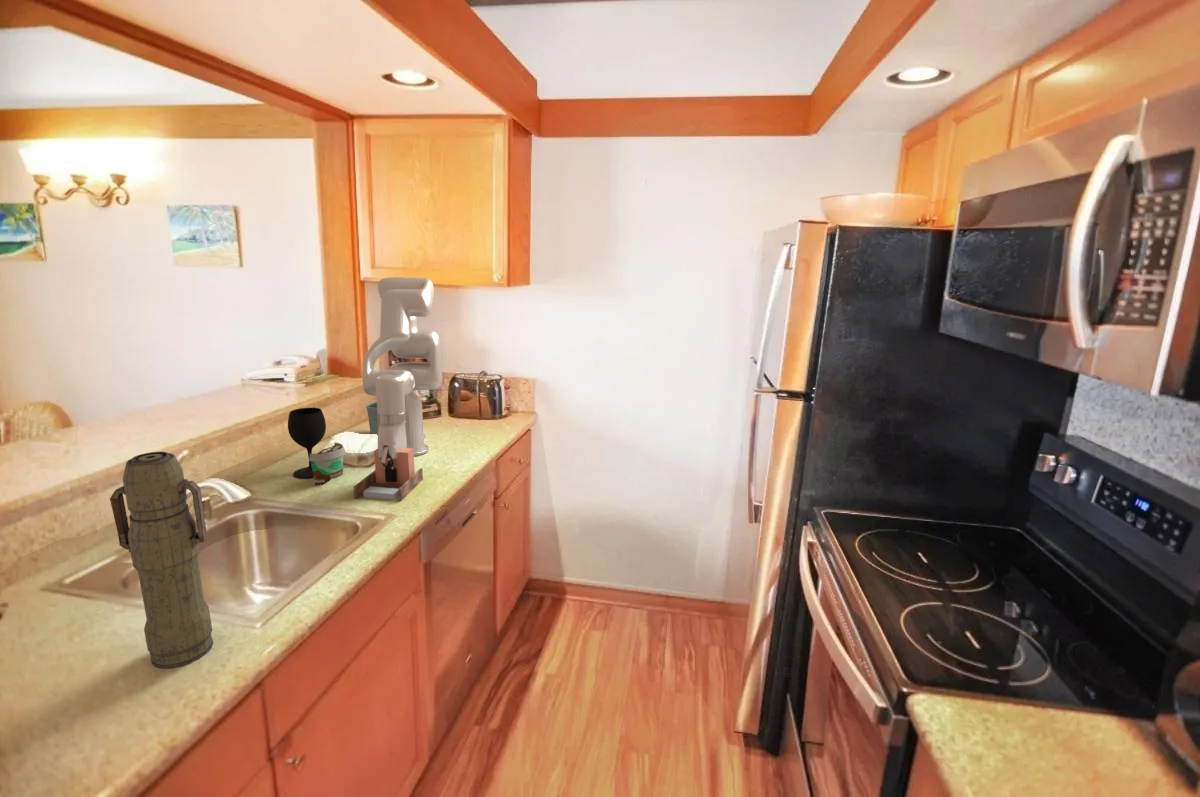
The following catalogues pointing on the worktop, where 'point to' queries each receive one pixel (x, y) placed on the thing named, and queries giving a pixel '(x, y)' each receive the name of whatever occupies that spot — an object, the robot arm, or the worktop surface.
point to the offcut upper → (381, 493)
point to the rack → (388, 484)
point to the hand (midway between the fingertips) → (395, 477)
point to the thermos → (165, 556)
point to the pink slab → (397, 466)
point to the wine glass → (306, 433)
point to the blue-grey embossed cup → (373, 417)
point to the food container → (327, 464)
